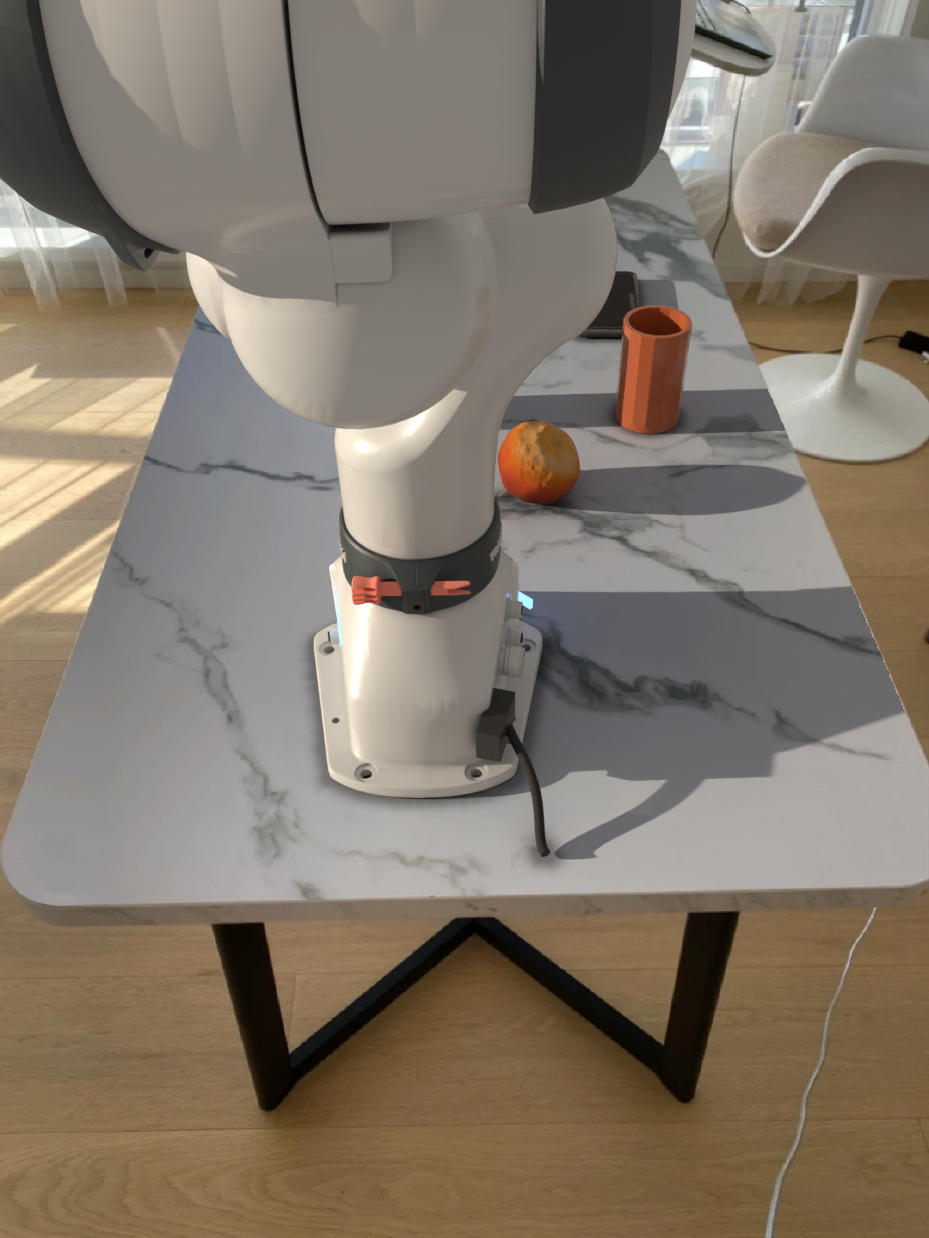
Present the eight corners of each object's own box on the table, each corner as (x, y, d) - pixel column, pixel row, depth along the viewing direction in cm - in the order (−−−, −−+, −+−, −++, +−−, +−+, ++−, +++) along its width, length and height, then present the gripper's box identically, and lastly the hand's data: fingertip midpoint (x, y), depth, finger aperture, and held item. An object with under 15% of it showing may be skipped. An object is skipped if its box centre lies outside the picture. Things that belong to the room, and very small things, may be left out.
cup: (682, 433, 108) (696, 337, 101) (618, 434, 108) (627, 338, 101) (673, 399, 113) (686, 304, 105) (612, 400, 113) (620, 305, 106)
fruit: (493, 446, 105) (535, 393, 99) (557, 491, 106) (602, 442, 100) (467, 492, 99) (509, 439, 94) (534, 540, 100) (580, 490, 95)
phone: (576, 329, 122) (574, 270, 133) (575, 337, 123) (574, 279, 134) (644, 329, 122) (637, 271, 132) (643, 338, 122) (636, 279, 133)
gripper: (229, -168, 64) (267, 69, 75) (564, -178, 64) (555, 62, 74) (244, -193, 68) (278, 34, 79) (558, -204, 68) (550, 27, 78)
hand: (415, 48), depth 76 cm, fingers open, 8 cm apart
